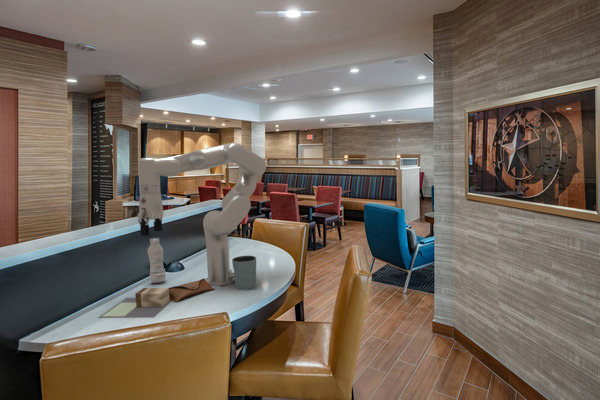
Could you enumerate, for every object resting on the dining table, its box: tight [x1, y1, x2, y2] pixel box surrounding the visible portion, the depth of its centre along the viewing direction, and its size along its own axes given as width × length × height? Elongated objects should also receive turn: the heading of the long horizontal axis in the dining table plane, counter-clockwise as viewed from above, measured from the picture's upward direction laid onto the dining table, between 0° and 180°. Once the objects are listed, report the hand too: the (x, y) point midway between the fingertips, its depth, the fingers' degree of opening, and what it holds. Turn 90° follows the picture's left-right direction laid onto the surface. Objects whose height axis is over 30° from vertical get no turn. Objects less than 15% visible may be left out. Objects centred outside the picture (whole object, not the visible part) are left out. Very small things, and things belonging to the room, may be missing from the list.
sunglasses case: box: [168, 278, 216, 302], centre depth 142 cm, size 18×7×7 cm, turn 139°
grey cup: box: [231, 255, 257, 291], centre depth 149 cm, size 10×10×12 cm
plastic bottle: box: [147, 237, 167, 284], centre depth 157 cm, size 6×7×20 cm
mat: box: [97, 297, 173, 319], centre depth 130 cm, size 20×18×1 cm
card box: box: [134, 287, 170, 307], centre depth 132 cm, size 10×6×5 cm, turn 87°
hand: (151, 233), depth 139 cm, fingers open, 9 cm apart
